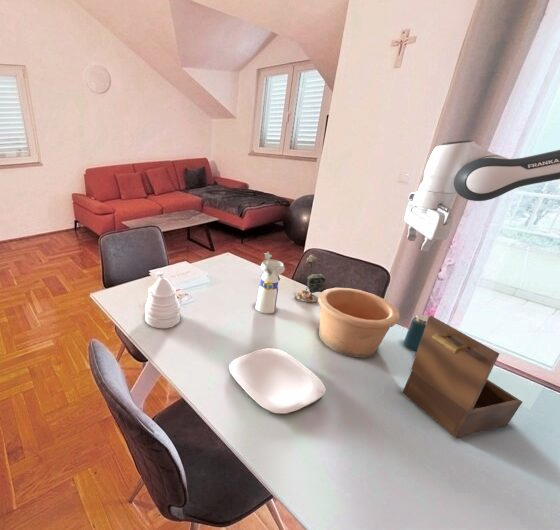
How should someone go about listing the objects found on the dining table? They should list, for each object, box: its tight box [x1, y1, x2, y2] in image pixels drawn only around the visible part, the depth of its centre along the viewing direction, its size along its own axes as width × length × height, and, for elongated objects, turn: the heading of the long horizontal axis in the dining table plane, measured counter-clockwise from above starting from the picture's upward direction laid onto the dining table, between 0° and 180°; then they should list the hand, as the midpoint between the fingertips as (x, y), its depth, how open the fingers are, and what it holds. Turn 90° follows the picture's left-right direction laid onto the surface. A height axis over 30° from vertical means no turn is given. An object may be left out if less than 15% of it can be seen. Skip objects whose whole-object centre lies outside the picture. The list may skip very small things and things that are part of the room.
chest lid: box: [410, 315, 500, 413], centre depth 71 cm, size 16×14×4 cm
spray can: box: [402, 314, 429, 352], centre depth 99 cm, size 5×5×11 cm
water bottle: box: [254, 251, 286, 315], centre depth 117 cm, size 8×9×25 cm
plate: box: [228, 347, 327, 415], centre depth 87 cm, size 22×22×2 cm
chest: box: [401, 370, 523, 439], centre depth 78 cm, size 16×14×8 cm
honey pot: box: [144, 270, 181, 329], centre depth 112 cm, size 13×13×18 cm
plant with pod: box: [294, 254, 326, 303], centre depth 125 cm, size 8×11×20 cm
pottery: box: [317, 287, 400, 358], centre depth 101 cm, size 22×22×14 cm
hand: (416, 245), depth 96 cm, fingers open, 8 cm apart
